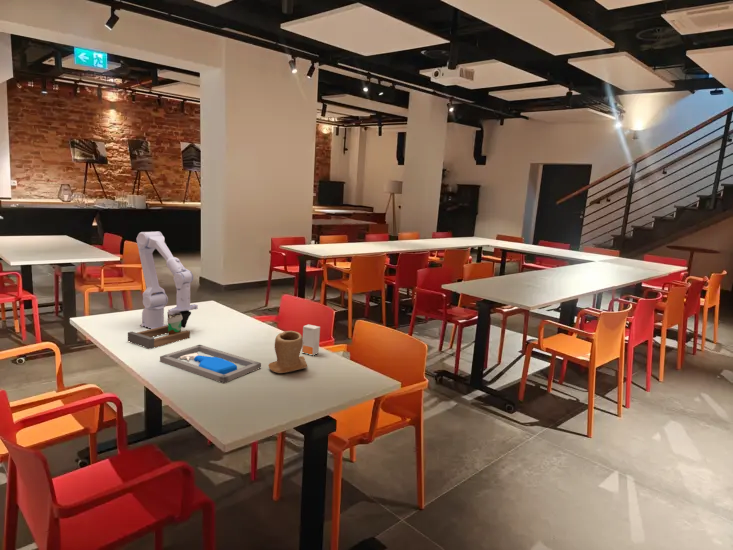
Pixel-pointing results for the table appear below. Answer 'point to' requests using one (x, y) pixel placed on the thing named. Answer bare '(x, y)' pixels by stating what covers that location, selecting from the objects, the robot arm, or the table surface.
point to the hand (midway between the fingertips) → (183, 327)
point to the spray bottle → (212, 363)
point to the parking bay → (165, 339)
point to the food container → (174, 323)
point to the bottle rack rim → (173, 361)
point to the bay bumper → (141, 339)
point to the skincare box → (311, 339)
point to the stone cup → (288, 353)
